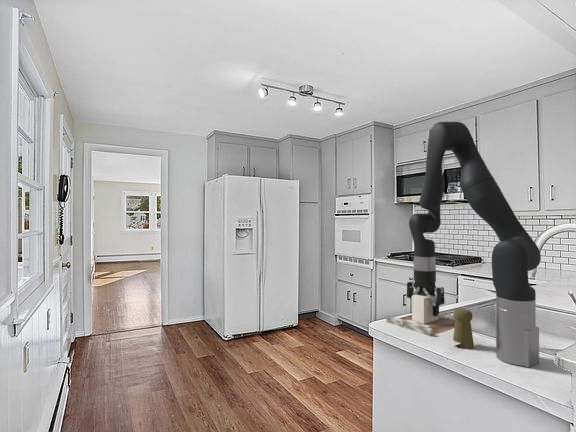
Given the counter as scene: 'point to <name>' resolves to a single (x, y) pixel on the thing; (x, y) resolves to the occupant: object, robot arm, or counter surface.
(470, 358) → the counter surface
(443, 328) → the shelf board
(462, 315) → the olive knobbed cone
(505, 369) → the counter surface
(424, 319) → the carton
